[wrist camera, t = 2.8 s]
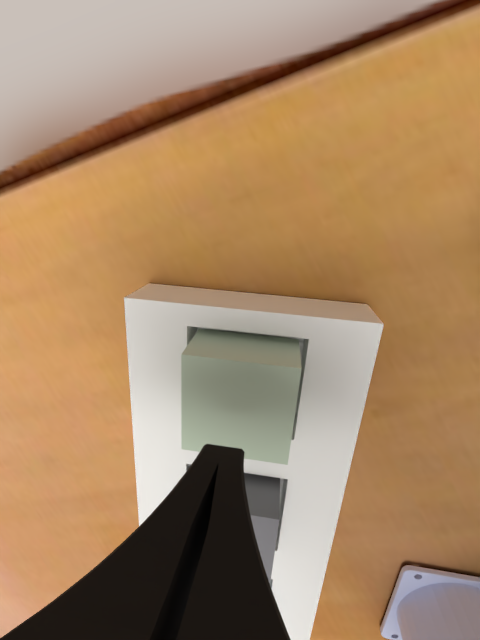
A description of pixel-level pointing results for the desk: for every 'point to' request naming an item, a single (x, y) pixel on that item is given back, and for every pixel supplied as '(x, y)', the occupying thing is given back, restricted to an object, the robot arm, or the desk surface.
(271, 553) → the charcoal key
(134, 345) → the keypad
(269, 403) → the sage key
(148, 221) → the desk surface
